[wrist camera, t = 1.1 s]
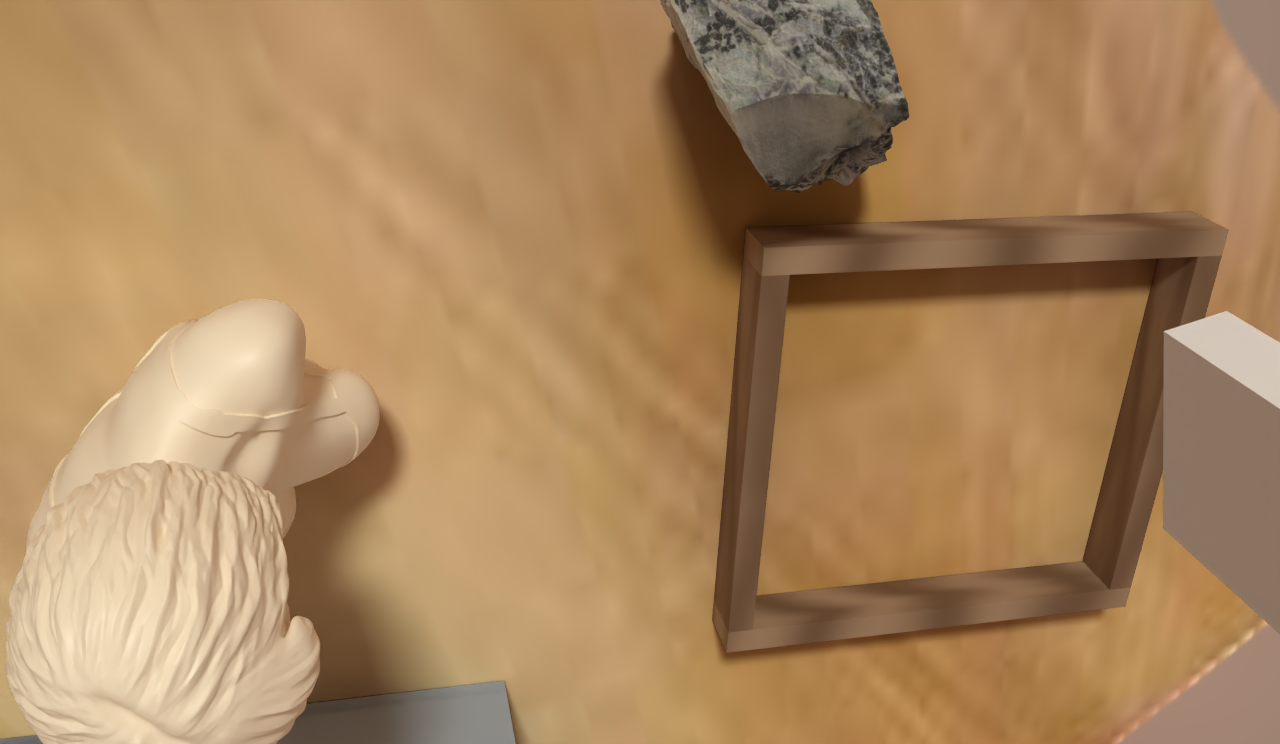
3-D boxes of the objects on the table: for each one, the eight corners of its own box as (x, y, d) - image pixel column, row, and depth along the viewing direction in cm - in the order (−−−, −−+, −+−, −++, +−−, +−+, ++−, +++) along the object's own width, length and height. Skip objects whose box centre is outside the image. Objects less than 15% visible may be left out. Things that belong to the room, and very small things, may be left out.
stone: (1005, 78, 38) (708, 65, 35) (879, 236, 47) (634, 235, 44) (938, -144, 41) (665, -171, 39) (833, 41, 50) (605, 29, 48)
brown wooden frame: (712, 620, 58) (726, 652, 56) (745, 227, 49) (764, 248, 47) (1098, 577, 63) (1125, 606, 61) (1193, 211, 54) (1228, 229, 52)
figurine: (225, 560, 51) (163, 968, 33) (22, 449, 47) (-172, 848, 29) (425, 335, 48) (471, 649, 31) (229, 196, 44) (152, 467, 27)
